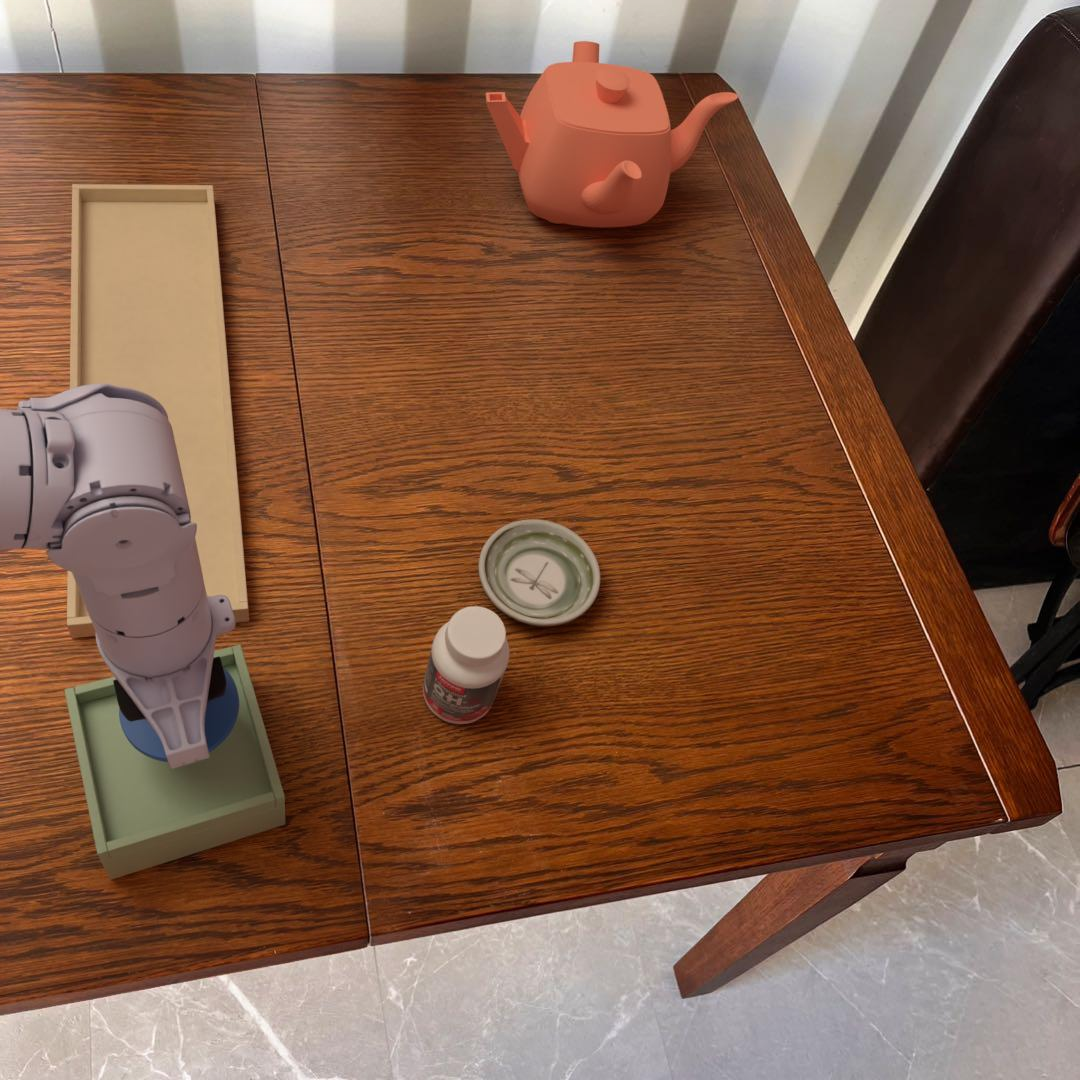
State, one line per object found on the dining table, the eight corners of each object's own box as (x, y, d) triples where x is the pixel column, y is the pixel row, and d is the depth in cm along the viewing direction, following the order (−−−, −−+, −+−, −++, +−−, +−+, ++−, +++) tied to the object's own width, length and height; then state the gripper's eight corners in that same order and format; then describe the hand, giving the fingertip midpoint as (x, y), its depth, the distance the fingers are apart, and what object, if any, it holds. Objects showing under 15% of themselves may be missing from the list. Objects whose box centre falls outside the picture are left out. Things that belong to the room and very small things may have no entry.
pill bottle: (421, 725, 78) (435, 665, 70) (422, 658, 81) (436, 593, 73) (495, 728, 79) (518, 669, 71) (494, 661, 82) (515, 598, 74)
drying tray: (249, 621, 80) (248, 608, 78) (71, 638, 77) (66, 625, 75) (214, 201, 103) (212, 184, 101) (75, 201, 99) (72, 183, 98)
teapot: (699, 201, 116) (743, 87, 105) (603, 284, 107) (640, 169, 95) (564, 115, 120) (593, -4, 109) (460, 188, 110) (479, 66, 99)
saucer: (605, 554, 89) (612, 538, 87) (579, 654, 84) (586, 640, 82) (493, 519, 89) (497, 502, 87) (460, 616, 84) (464, 601, 82)
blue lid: (132, 777, 64) (120, 749, 60) (110, 674, 67) (96, 641, 63) (251, 742, 66) (246, 712, 63) (224, 644, 70) (217, 610, 66)
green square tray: (110, 880, 69) (97, 854, 64) (78, 723, 74) (63, 688, 69) (285, 824, 73) (284, 796, 68) (243, 678, 78) (240, 643, 73)
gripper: (260, 691, 52) (274, 787, 64) (193, 456, 59) (216, 581, 70) (107, 734, 50) (150, 826, 61) (54, 485, 56) (101, 609, 68)
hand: (177, 697), depth 66 cm, fingers closed on blue lid, 2 cm apart
